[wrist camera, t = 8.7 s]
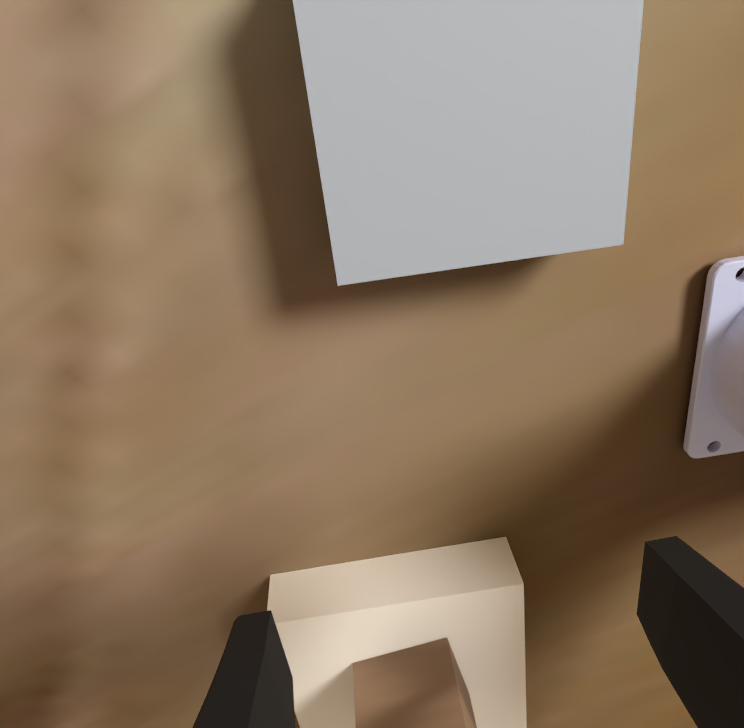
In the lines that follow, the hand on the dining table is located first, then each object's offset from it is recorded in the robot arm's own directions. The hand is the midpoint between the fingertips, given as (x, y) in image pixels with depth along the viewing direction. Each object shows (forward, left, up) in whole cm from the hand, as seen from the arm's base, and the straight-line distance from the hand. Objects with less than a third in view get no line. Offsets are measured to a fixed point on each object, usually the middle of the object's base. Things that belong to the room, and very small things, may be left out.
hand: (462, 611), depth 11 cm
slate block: (-3, -8, -11) cm, 14 cm away
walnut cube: (+1, +14, -8) cm, 16 cm away
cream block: (+1, +14, -11) cm, 18 cm away
